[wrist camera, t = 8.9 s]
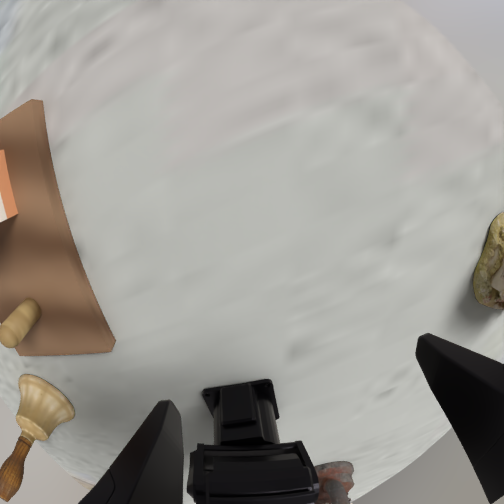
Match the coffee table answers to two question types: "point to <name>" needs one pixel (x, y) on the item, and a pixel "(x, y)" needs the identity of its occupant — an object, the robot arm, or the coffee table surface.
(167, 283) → the coffee table surface
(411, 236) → the coffee table surface
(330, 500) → the lantern
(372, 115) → the coffee table surface
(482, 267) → the ceramic model
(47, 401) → the hand bell
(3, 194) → the sleeve
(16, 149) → the pin board
